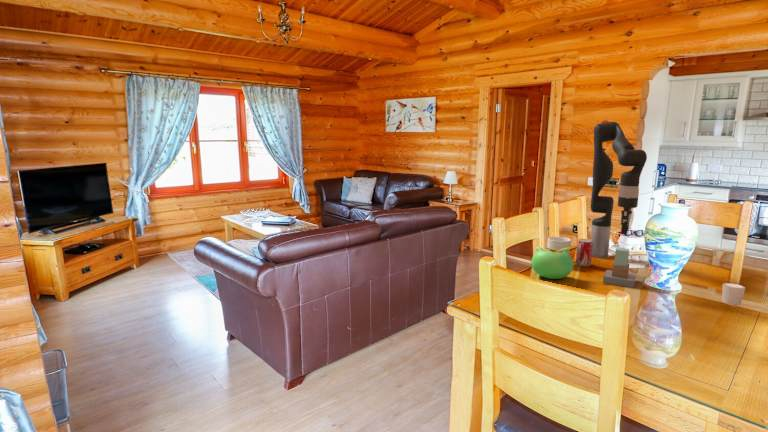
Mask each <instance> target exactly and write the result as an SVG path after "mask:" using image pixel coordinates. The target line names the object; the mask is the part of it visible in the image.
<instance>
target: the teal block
mask: <svg viewBox="0 0 768 432" xmlns="http://www.w3.org/2000/svg"><path fill="white" fill-rule="evenodd" d="M614 252H615V254H614V262H613V264H614V265H618V266H625V267H627V265H628V264H629V256H630V248H623V247H616V248H615V251H614Z"/></svg>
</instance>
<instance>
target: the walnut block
mask: <svg viewBox="0 0 768 432" xmlns="http://www.w3.org/2000/svg"><path fill="white" fill-rule="evenodd" d="M611 270H612V276H616V277H623V278H627V277H628V273H630V263H628V265H627V267H625V266H618V265H614V263H613V264H612V269H611Z"/></svg>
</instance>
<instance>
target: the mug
mask: <svg viewBox="0 0 768 432" xmlns="http://www.w3.org/2000/svg"><path fill="white" fill-rule="evenodd" d="M571 244H572V239H571V238H568V237H563V236H550V237H549V236H548V239H547V245H546V246H547V247H546V248H553V249H563V248H567V247H572V246H571ZM570 253H571V250H569V251H568V252H567V254H569V255H570Z"/></svg>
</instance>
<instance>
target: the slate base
mask: <svg viewBox="0 0 768 432" xmlns="http://www.w3.org/2000/svg"><path fill="white" fill-rule="evenodd" d="M636 281H637V273H631V272H629V273H628V277H627V278H623V277H616V276H612V269H606V270H605V272H604V274H603V279H602V283H603V284H608V285H615V286H620V287H626V288H631V289H634V288H635V285H636Z"/></svg>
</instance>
